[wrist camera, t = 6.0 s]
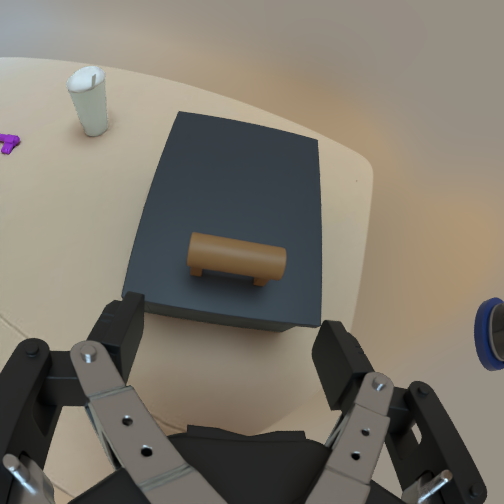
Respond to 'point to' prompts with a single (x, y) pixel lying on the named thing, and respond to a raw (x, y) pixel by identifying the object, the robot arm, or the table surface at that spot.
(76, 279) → the table surface
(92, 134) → the milkshake
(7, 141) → the purple yellow rod
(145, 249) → the lid
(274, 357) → the table surface
